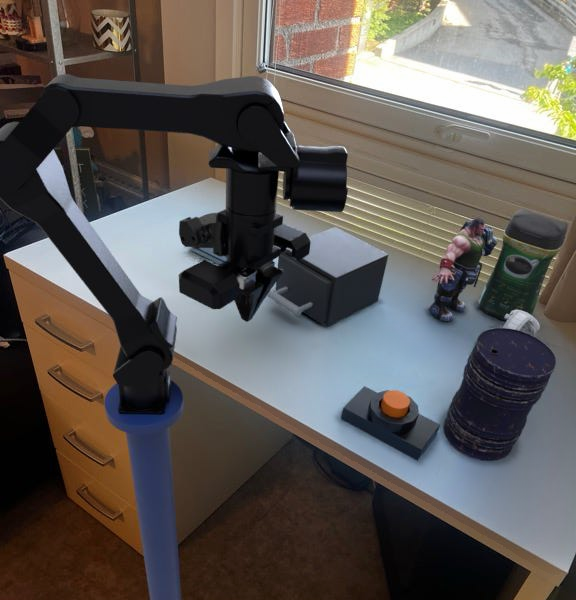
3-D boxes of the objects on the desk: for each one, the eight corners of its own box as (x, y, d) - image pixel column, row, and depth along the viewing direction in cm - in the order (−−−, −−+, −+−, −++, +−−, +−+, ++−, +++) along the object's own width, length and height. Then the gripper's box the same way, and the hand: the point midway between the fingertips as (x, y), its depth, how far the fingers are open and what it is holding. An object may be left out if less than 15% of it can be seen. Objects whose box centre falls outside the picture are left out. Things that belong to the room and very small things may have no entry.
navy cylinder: (494, 409, 82) (533, 326, 72) (526, 459, 75) (573, 375, 65) (432, 412, 80) (462, 328, 71) (458, 464, 73) (496, 378, 63)
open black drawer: (304, 332, 91) (309, 291, 86) (257, 301, 97) (260, 261, 92) (368, 299, 100) (376, 261, 95) (322, 273, 106) (328, 235, 101)
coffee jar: (535, 312, 104) (578, 218, 92) (522, 330, 99) (566, 233, 87) (486, 292, 108) (521, 200, 96) (471, 309, 103) (506, 214, 91)
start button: (375, 409, 74) (378, 400, 73) (388, 395, 77) (390, 386, 76) (399, 422, 73) (402, 412, 72) (411, 407, 75) (414, 398, 74)
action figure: (437, 341, 94) (470, 243, 82) (404, 324, 97) (431, 227, 85) (488, 299, 106) (523, 209, 94) (457, 285, 109) (488, 196, 97)
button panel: (339, 419, 78) (344, 398, 75) (362, 396, 82) (367, 375, 79) (417, 462, 73) (424, 441, 70) (437, 434, 77) (444, 414, 74)
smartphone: (216, 233, 114) (271, 258, 107) (216, 240, 115) (270, 266, 108) (188, 244, 109) (244, 271, 102) (188, 252, 110) (244, 279, 103)
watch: (523, 370, 90) (550, 313, 83) (501, 391, 85) (527, 334, 78) (492, 353, 93) (516, 297, 86) (469, 373, 88) (492, 316, 81)
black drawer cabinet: (327, 327, 94) (336, 277, 88) (277, 294, 101) (281, 246, 94) (377, 301, 102) (388, 254, 96) (328, 272, 108) (335, 226, 102)
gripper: (247, 165, 72) (244, 271, 82) (138, 207, 60) (150, 325, 70) (319, 191, 67) (305, 300, 78) (216, 242, 55) (216, 363, 66)
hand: (246, 319), depth 73 cm, fingers closed
